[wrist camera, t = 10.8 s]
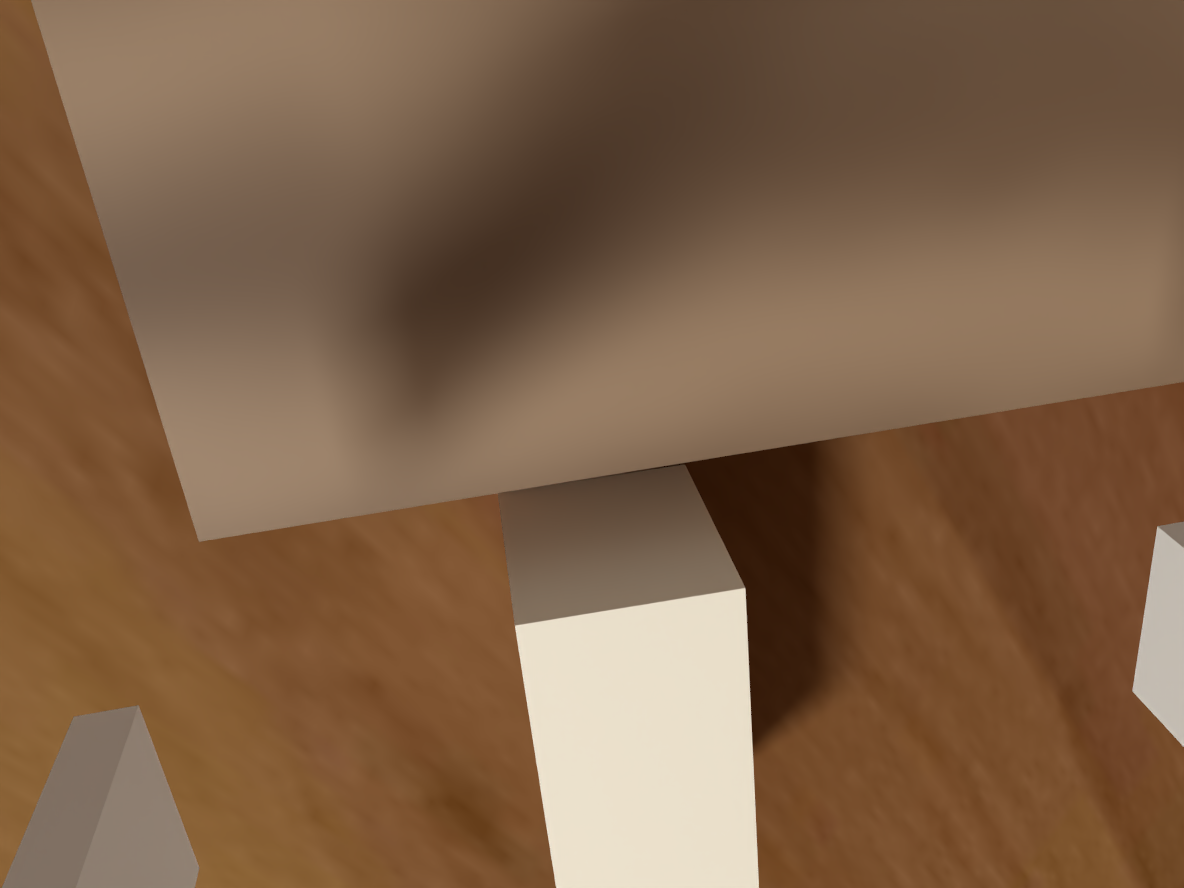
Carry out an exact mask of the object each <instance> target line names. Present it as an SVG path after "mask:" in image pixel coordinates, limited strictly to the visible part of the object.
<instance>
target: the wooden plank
mask: <svg viewBox="0 0 1184 888" xmlns="http://www.w3.org/2000/svg"><path fill="white" fill-rule="evenodd" d="M31 2H32V5H33V8H34V11H35V15H36V18H37V21H38V24H39V27H40V31H41V34H42V37H43V40H44V44H45V47H46V50H47V53H48V56H49V60H50V63H51V66H52V69H53V73H54V76H55V79H56V82H57V85H58V89H59V92H60V95H61V98H62V102H63V105H64V108H65V111H66V114H67V118H68V121H69V124H70V127H71V131H72V134H73V137H74V140H75V143H76V147H77V150H78V153H79V156H80V160H81V163H82V166H83V169H84V172H85V176H86V179H87V182H88V185H89V189H90V192H91V195H92V198H93V201H94V205H95V208H96V211H97V214H98V218H99V221H100V224H101V227H102V230H103V234H104V237H105V240H106V243H107V247H108V250H109V253H110V256H111V260H112V263H113V266H114V269H115V272H116V276H117V279H118V282H119V285H120V289H121V292H122V295H123V298H124V301H125V305H126V308H127V311H128V314H129V318H130V321H131V324H132V327H133V330H134V334H135V337H136V340H137V343H138V347H139V350H140V353H141V356H142V359H143V363H144V366H145V369H146V372H147V376H148V379H149V382H150V385H151V388H152V392H153V395H154V398H155V401H156V405H157V408H158V411H159V414H160V417H161V421H162V424H163V427H164V430H165V434H166V437H167V440H168V443H169V446H170V450H171V453H172V456H173V459H174V463H175V466H176V469H177V472H178V475H179V479H180V482H181V485H182V488H183V492H184V495H185V498H186V501H187V504H188V508H189V511H190V514H191V517H192V521H193V524H194V527H195V530H196V533H197V537H198V540H199V542H200V541H206V540H212V539H218V538H224V537H231V536H237V535H243V534H249V533H255V532H261V531H268V530H274V529H280V528H286V527H292V526H298V525H305V524H311V523H317V522H323V521H329V520H335V519H342V518H348V517H354V516H360V515H366V514H372V513H378V512H385V511H391V510H397V509H403V508H409V507H415V506H422V505H428V504H434V503H440V502H446V501H452V500H459V499H465V498H471V497H477V496H483V495H489V494H496V493H502V492H508V491H514V490H520V489H526V488H532V487H539V486H545V485H551V484H557V483H563V482H569V481H576V480H582V479H588V478H594V477H600V476H606V475H613V474H619V473H625V472H631V471H637V470H643V469H650V468H656V467H662V466H668V465H674V464H680V463H686V462H693V461H699V460H705V459H711V458H717V457H723V456H730V455H736V454H742V453H748V452H754V451H760V450H767V449H773V448H779V447H785V446H791V445H797V444H803V443H810V442H816V441H822V440H828V439H834V438H840V437H847V436H853V435H859V434H865V433H871V432H877V431H884V430H890V429H896V428H902V427H908V426H914V425H921V424H927V423H933V422H939V421H945V420H951V419H957V418H964V417H970V416H976V415H982V414H988V413H994V412H1001V411H1007V410H1013V409H1019V408H1025V407H1031V406H1038V405H1044V404H1050V403H1056V402H1062V401H1068V400H1075V399H1081V398H1087V397H1093V396H1099V395H1105V394H1111V393H1118V392H1124V391H1130V390H1136V389H1142V388H1148V387H1155V386H1161V385H1167V384H1173V383H1179V382H1184V0H31Z"/></svg>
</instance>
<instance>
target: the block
mask: <svg viewBox="0 0 1184 888" xmlns="http://www.w3.org/2000/svg"><path fill="white" fill-rule="evenodd" d="M498 499H499V506H500V514H501V522H502V530H503V537H504V545H505V553H506V560H507V568H508V576H509V583H510V591H511V599H512V606H513V614H514V622H515V629H516V635H517V641H518V648H519V654H520V661H521V667H522V673H523V680H524V686H525V692H526V699H527V705H528V711H529V718H530V724H531V730H532V737H533V743H534V750H535V756H536V762H537V769H538V775H539V781H540V788H541V794H542V800H543V807H544V813H545V819H546V826H547V832H548V839H549V845H550V851H551V858H552V864H553V870H554V877H555V883H556V888H759V880H758V858H757V836H756V813H755V791H754V768H753V746H752V724H751V701H750V679H749V657H748V634H747V612H746V589H745V586H744V584H743V582H742V580H741V578H740V576H739V574H738V572H737V570H736V568H735V566H734V564H733V562H732V560H731V557H730V555H729V553H728V551H727V549H726V547H725V545H724V543H723V541H722V539H721V537H720V535H719V533H718V531H717V529H716V527H715V525H714V523H713V521H712V519H711V517H710V514H709V512H708V510H707V508H706V506H705V504H704V502H703V500H702V498H701V496H700V494H699V492H698V490H697V488H696V486H695V484H694V482H693V480H692V478H691V476H690V474H689V472H688V469H687V467H686V465H685V464H684V465H677V466H671V467H664V468H658V469H651V470H645V471H638V472H632V473H625V474H619V475H612V476H606V477H599V478H593V479H586V480H580V481H573V482H567V483H560V484H554V485H547V486H541V487H534V488H528V489H521V490H515V491H508V492H502V493H498Z"/></svg>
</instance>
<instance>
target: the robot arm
mask: <svg viewBox="0 0 1184 888" xmlns="http://www.w3.org/2000/svg"><path fill="white" fill-rule="evenodd" d="M1133 692H1134V693H1135V694H1136V696H1137V697H1138V698H1139V699H1140V700H1141V701H1142V702H1143V703H1144V704H1145V705H1146V706H1147V707H1148V709H1149V710H1150V711H1151V712H1152V713H1153V714H1154V715H1155V716H1156V717H1157V718H1158V719H1159V720H1160V722H1161V723H1162V724H1163V725H1164V726H1165V727H1166V728H1167V729H1168V730H1169V731H1170V732H1171V733H1172V734H1173V736H1174V737H1175V738H1176V739H1177V740H1178V741H1179V742H1180V743H1181V744H1182V745H1183V746H1184V522H1180V523H1174V524H1168V525H1162V526H1158V527H1157V533H1156V540H1155V546H1154V553H1153V559H1152V566H1151V573H1150V579H1149V586H1148V592H1147V599H1146V606H1145V612H1144V619H1143V625H1142V632H1141V638H1140V645H1139V652H1138V658H1137V665H1136V671H1135V678H1134V684H1133ZM198 871H199V866H198V863H197V860H196V858H195V855H194V852H193V850H192V847H191V844H190V842H189V839H188V836H187V834H186V831H185V828H184V826H183V823H182V820H181V818H180V815H179V812H178V810H177V807H176V804H175V802H174V799H173V796H172V794H171V791H170V788H169V786H168V783H167V780H166V778H165V775H164V772H163V770H162V767H161V764H160V762H159V759H158V756H157V754H156V751H155V748H154V746H153V743H152V740H151V738H150V735H149V732H148V730H147V727H146V724H145V722H144V719H143V716H142V714H141V711H140V708H139V705H138V706H133V707H127V708H121V709H116V710H110V711H104V712H98V713H93V714H87V715H81V716H76V717H73V720H72V722H71V724H70V727H69V729H68V732H67V734H66V736H65V739H64V741H63V743H62V746H61V748H60V751H59V753H58V755H57V758H56V760H55V763H54V765H53V767H52V770H51V772H50V774H49V777H48V779H47V782H46V784H45V786H44V789H43V791H42V794H41V796H40V798H39V801H38V803H37V805H36V808H35V810H34V813H33V815H32V817H31V820H30V822H29V825H28V827H27V829H26V832H25V834H24V837H23V839H22V841H21V844H20V846H19V848H18V851H17V853H16V856H15V858H14V860H13V863H12V865H11V868H10V870H9V872H8V875H7V877H6V879H5V882H4V884H3V887H2V888H195V884H196V880H197V875H198Z"/></svg>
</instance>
